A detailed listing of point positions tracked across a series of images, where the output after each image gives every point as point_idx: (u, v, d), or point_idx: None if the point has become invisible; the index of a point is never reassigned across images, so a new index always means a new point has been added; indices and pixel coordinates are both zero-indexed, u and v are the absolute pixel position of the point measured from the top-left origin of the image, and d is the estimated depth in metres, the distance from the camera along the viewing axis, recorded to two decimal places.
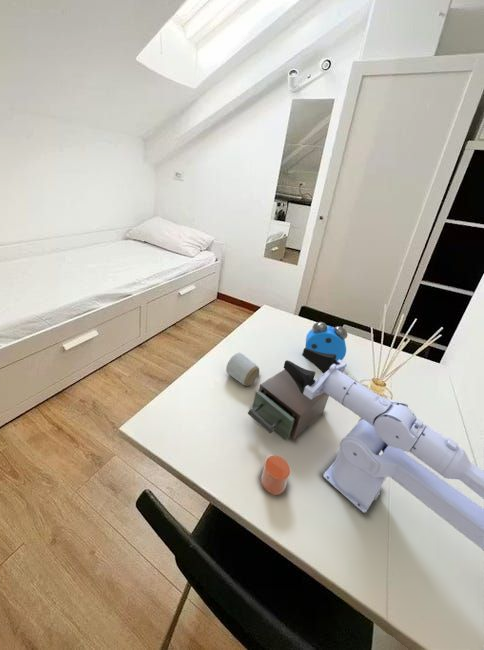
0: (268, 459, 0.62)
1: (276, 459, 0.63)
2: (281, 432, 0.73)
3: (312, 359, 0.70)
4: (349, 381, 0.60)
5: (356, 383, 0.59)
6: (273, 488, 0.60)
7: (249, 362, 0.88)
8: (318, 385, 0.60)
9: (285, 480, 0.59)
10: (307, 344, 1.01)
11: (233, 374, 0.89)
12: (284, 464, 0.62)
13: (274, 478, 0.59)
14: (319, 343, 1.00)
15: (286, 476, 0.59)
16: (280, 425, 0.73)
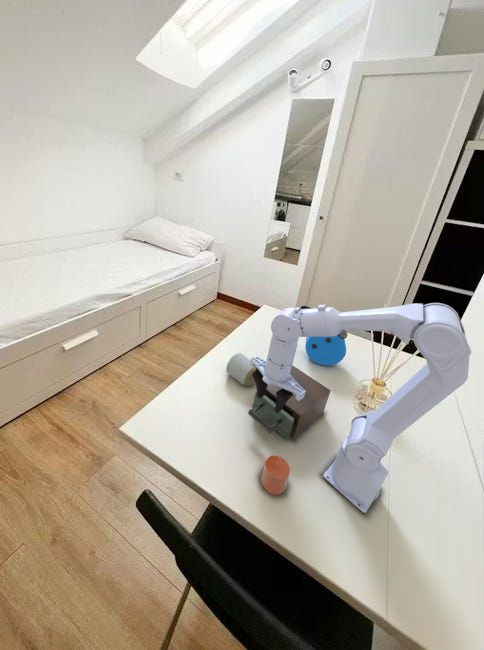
0: (268, 459, 0.62)
1: (276, 459, 0.63)
2: (281, 432, 0.73)
3: (264, 387, 0.72)
4: (272, 365, 0.64)
5: None
6: (273, 488, 0.60)
7: (249, 362, 0.88)
8: (290, 389, 0.64)
9: (285, 480, 0.59)
10: (307, 344, 1.01)
11: (233, 374, 0.89)
12: (284, 464, 0.62)
13: (274, 478, 0.59)
14: (319, 343, 1.00)
15: (286, 476, 0.59)
16: (280, 425, 0.73)
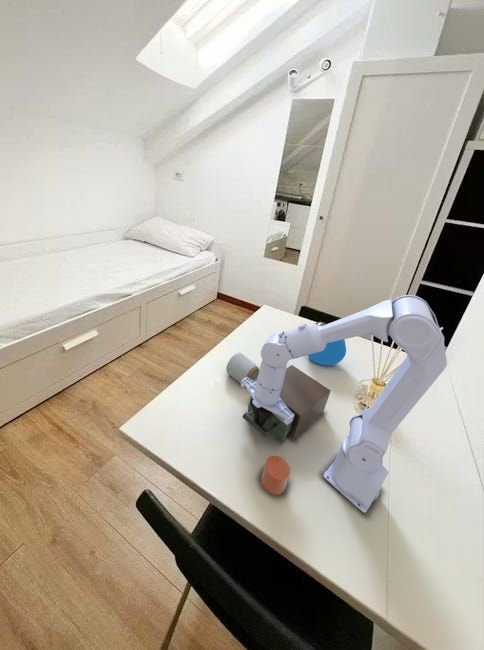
0: (268, 459, 0.62)
1: (276, 459, 0.63)
2: (276, 436, 0.72)
3: None
4: (262, 389, 0.65)
5: None
6: (273, 488, 0.60)
7: (249, 362, 0.88)
8: (279, 413, 0.65)
9: (285, 480, 0.59)
10: None
11: (233, 374, 0.89)
12: (284, 464, 0.62)
13: (274, 478, 0.59)
14: None
15: (286, 476, 0.59)
16: (275, 429, 0.71)
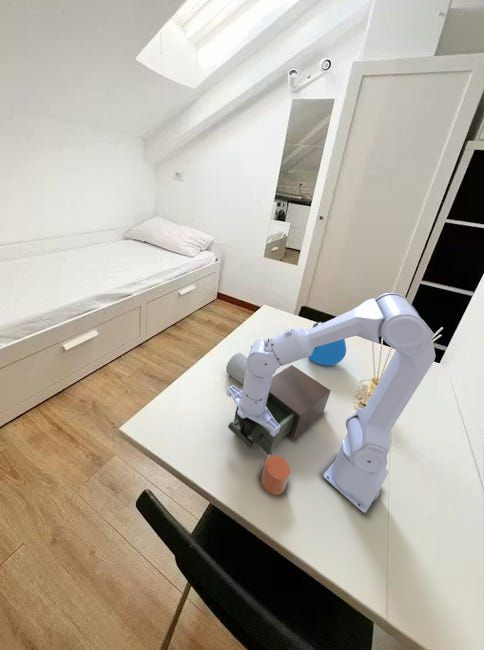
0: (268, 459, 0.62)
1: (276, 459, 0.63)
2: (263, 447, 0.68)
3: None
4: (247, 399, 0.62)
5: None
6: (273, 488, 0.60)
7: None
8: (265, 424, 0.61)
9: (285, 480, 0.59)
10: None
11: (233, 374, 0.89)
12: (284, 464, 0.62)
13: (274, 478, 0.59)
14: None
15: (286, 476, 0.59)
16: (262, 440, 0.68)
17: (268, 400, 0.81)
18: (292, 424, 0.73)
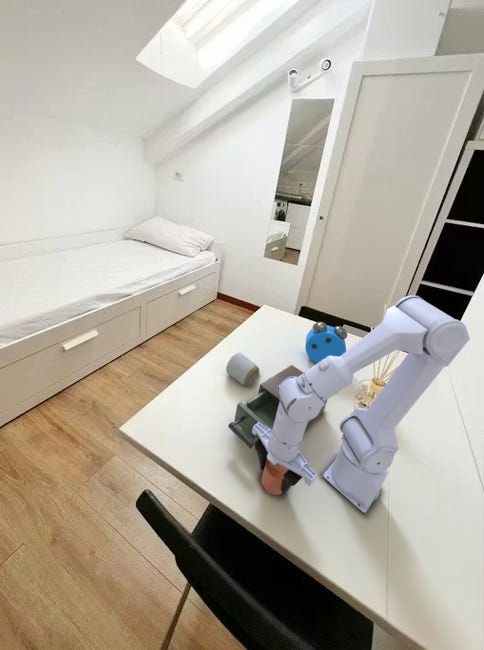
0: None
1: None
2: None
3: None
4: (278, 444, 0.55)
5: (273, 430, 0.57)
6: (273, 488, 0.60)
7: (249, 362, 0.88)
8: (299, 473, 0.55)
9: None
10: (307, 344, 1.01)
11: (233, 374, 0.89)
12: None
13: (274, 478, 0.59)
14: (319, 343, 1.00)
15: None
16: None
17: (268, 400, 0.81)
18: None
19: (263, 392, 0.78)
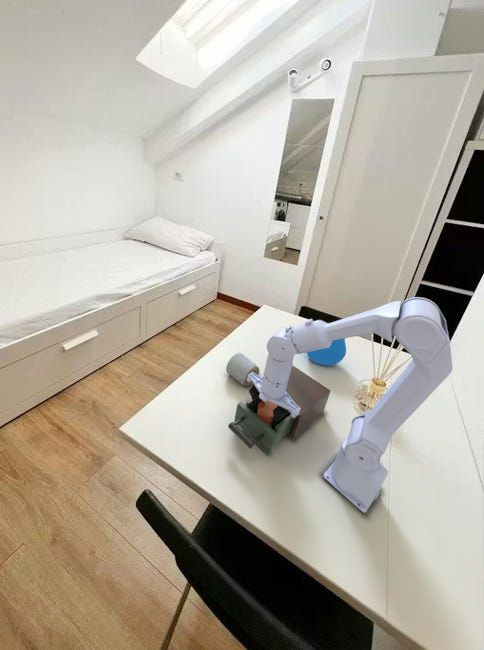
0: (260, 402, 0.73)
1: (268, 402, 0.73)
2: (263, 447, 0.69)
3: None
4: (268, 383, 0.66)
5: None
6: None
7: (249, 362, 0.88)
8: (286, 407, 0.66)
9: None
10: None
11: (233, 374, 0.89)
12: (274, 406, 0.72)
13: (265, 416, 0.70)
14: None
15: None
16: (262, 439, 0.68)
17: None
18: (292, 424, 0.73)
19: None
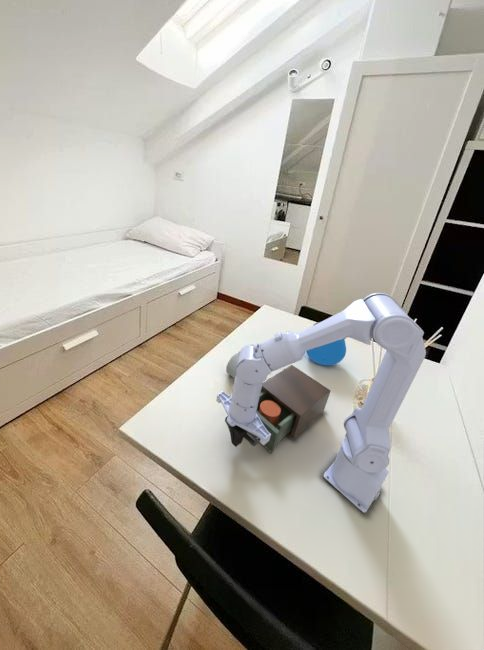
0: (262, 402, 0.74)
1: (269, 403, 0.74)
2: (266, 444, 0.69)
3: None
4: (236, 407, 0.60)
5: (232, 392, 0.62)
6: None
7: None
8: (255, 433, 0.59)
9: (276, 418, 0.71)
10: None
11: (233, 374, 0.89)
12: (276, 406, 0.73)
13: (267, 416, 0.71)
14: None
15: (277, 414, 0.71)
16: None
17: (271, 398, 0.82)
18: None
19: None
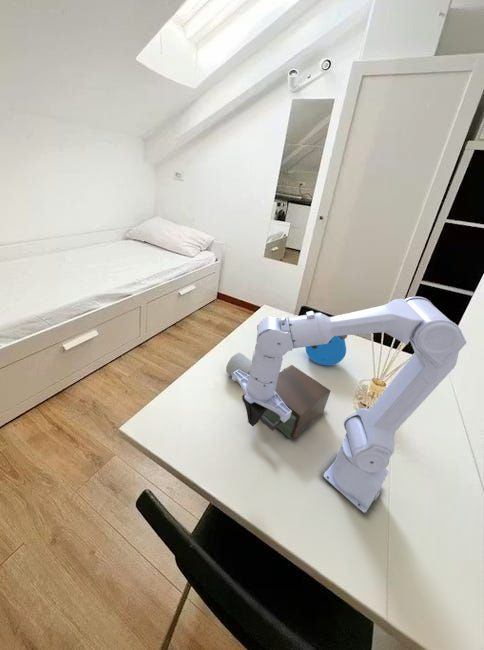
0: None
1: None
2: (283, 430, 0.73)
3: None
4: (255, 382, 0.57)
5: (250, 368, 0.59)
6: None
7: (249, 362, 0.88)
8: (275, 409, 0.57)
9: None
10: None
11: None
12: None
13: None
14: None
15: None
16: (282, 423, 0.73)
17: None
18: None
19: None
